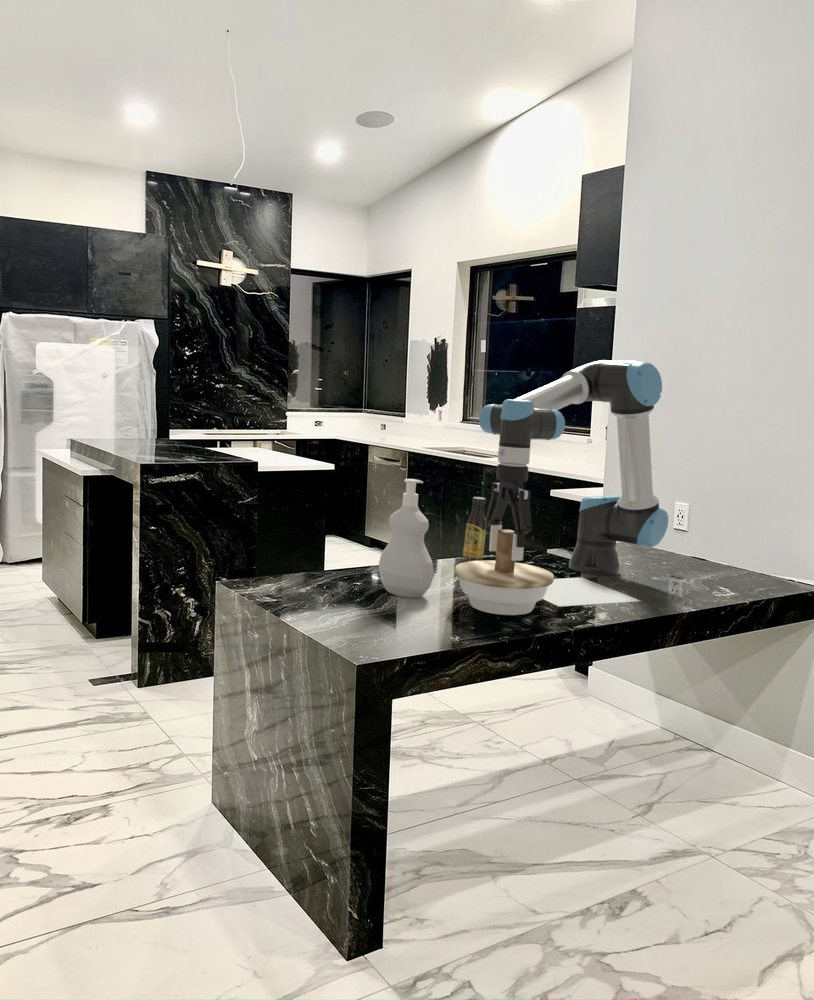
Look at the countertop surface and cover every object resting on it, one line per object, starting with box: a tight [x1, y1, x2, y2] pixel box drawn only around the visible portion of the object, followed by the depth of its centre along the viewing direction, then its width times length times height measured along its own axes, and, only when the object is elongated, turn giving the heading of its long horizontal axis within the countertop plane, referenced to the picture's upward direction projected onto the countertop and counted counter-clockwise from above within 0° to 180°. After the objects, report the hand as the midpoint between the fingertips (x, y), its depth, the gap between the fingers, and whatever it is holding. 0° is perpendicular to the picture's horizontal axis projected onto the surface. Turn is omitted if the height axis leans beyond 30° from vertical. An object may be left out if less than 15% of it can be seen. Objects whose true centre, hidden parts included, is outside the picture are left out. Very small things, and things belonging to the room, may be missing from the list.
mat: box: [542, 577, 641, 608], centre depth 232 cm, size 26×26×1 cm
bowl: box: [458, 577, 548, 616], centre depth 211 cm, size 22×22×8 cm
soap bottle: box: [378, 478, 435, 598], centre depth 218 cm, size 17×12×29 cm
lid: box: [454, 529, 555, 589], centre depth 210 cm, size 24×24×11 cm
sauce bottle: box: [462, 496, 488, 562], centre depth 263 cm, size 7×6×20 cm
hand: (505, 555), depth 210 cm, fingers open, 10 cm apart
